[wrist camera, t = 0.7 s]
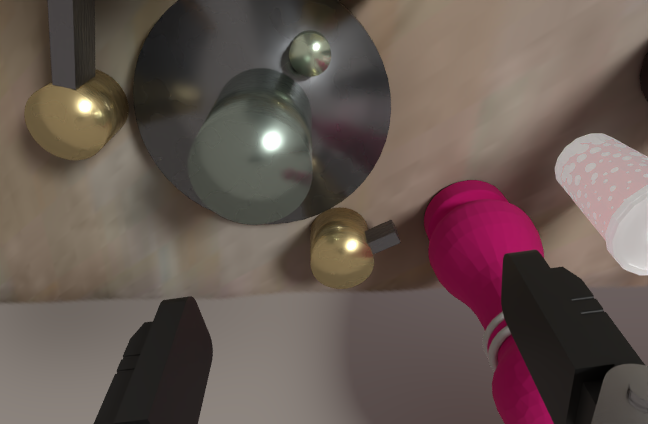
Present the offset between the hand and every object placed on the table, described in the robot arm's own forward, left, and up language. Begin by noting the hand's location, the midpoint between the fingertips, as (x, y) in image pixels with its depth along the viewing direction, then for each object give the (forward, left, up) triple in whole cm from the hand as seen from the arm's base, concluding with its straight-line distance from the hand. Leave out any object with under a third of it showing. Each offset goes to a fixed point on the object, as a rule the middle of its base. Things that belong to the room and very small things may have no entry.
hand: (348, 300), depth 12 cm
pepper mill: (+8, +13, -21) cm, 26 cm away
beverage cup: (+2, +20, -21) cm, 29 cm away
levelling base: (+2, -2, -21) cm, 21 cm away
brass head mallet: (0, -14, -21) cm, 25 cm away
